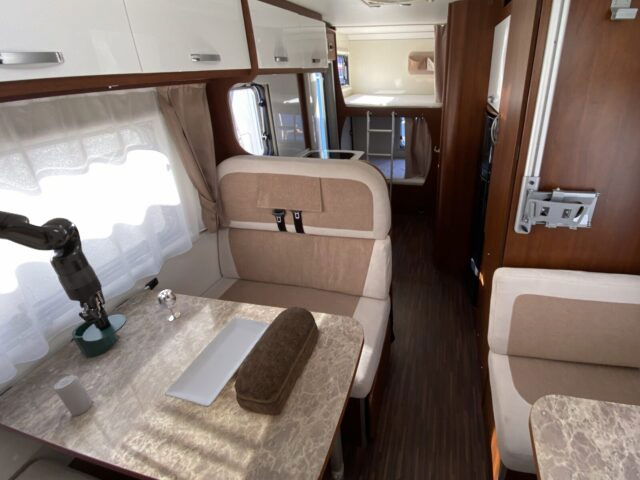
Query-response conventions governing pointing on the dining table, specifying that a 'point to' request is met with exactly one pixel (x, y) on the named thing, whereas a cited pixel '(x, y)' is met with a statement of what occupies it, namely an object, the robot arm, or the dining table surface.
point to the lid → (105, 327)
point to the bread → (276, 362)
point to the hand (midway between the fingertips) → (102, 323)
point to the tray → (218, 362)
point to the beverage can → (73, 394)
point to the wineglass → (168, 302)
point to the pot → (92, 347)
